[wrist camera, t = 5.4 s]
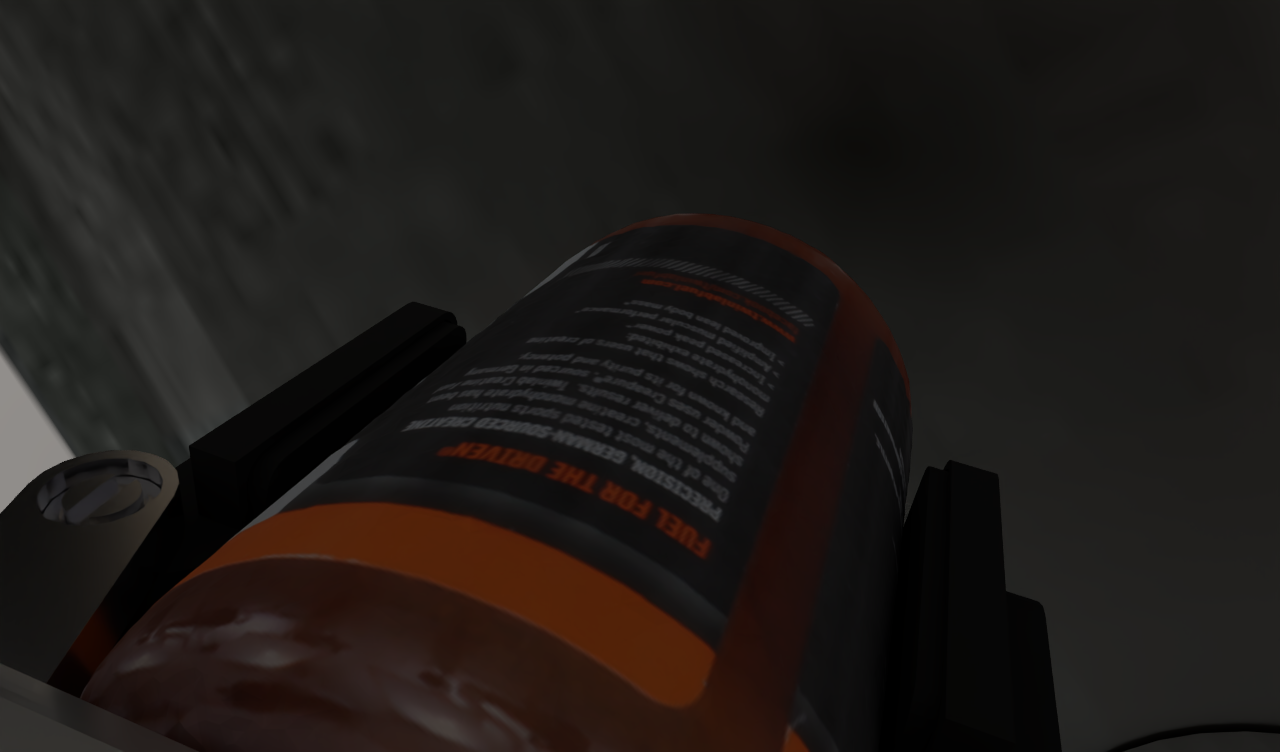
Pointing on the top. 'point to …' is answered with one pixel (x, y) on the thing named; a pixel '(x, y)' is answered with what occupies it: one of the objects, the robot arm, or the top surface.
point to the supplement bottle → (576, 532)
